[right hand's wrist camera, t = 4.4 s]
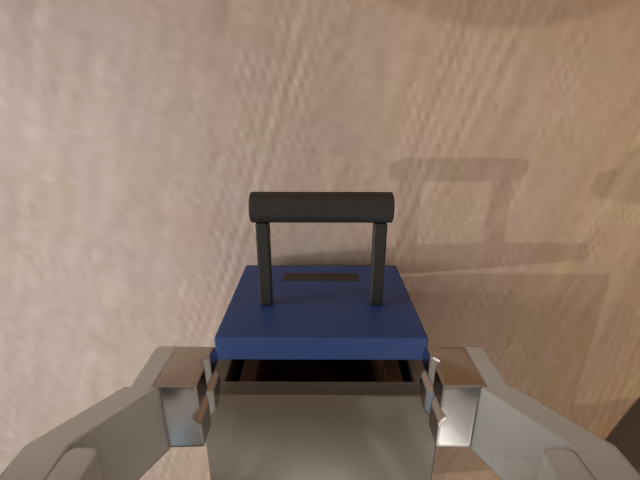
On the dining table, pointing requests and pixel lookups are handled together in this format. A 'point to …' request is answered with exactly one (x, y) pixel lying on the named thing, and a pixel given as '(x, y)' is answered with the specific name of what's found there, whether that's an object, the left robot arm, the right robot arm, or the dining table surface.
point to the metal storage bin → (320, 429)
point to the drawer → (321, 302)
